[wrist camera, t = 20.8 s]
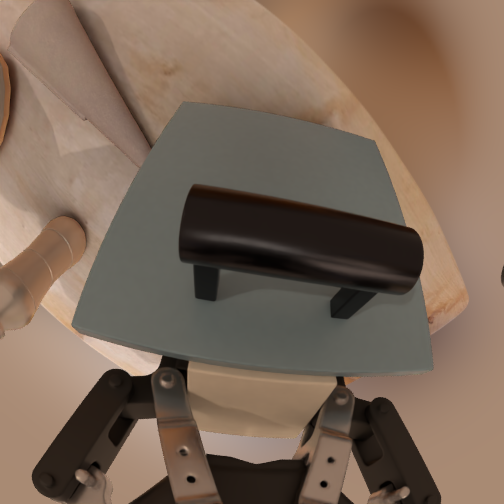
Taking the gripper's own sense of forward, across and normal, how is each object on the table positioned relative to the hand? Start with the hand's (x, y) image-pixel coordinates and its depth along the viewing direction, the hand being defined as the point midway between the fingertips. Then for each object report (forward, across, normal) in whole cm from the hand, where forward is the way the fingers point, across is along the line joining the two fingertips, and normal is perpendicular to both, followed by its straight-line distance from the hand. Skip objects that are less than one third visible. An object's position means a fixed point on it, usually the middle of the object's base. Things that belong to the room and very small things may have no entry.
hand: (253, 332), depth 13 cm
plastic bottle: (+20, +24, +8) cm, 32 cm away
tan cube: (0, 0, 0) cm, 0 cm away
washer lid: (+2, 0, -6) cm, 6 cm away
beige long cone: (+20, +19, -12) cm, 30 cm away
